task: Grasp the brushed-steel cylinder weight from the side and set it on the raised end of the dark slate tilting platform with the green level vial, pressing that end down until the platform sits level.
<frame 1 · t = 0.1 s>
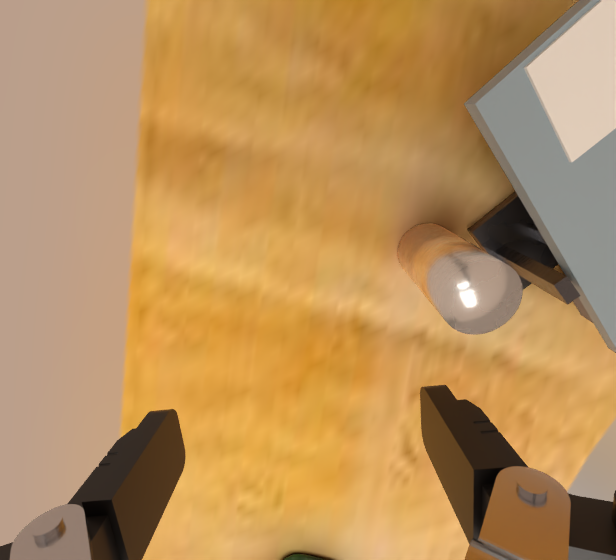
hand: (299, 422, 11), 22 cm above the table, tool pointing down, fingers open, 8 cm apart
pivot stand: (567, 202, 31), on the table
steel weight: (425, 250, 33), on the table
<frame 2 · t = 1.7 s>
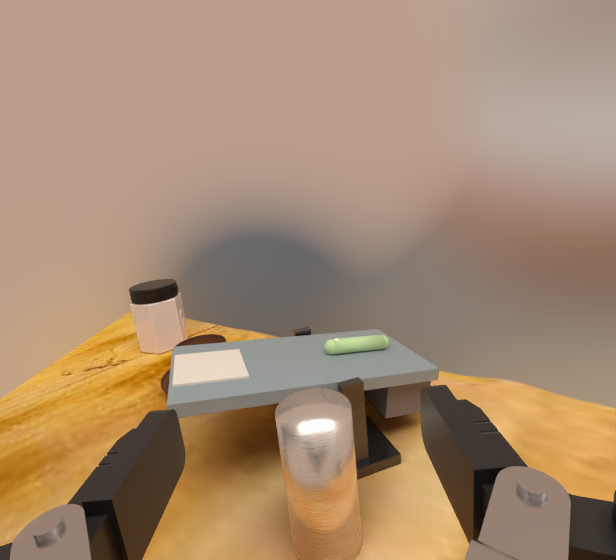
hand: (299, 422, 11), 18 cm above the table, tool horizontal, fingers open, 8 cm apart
platform: (299, 372, 36), point 7 cm above the table, hinge at 8.0°
cup and saucer: (207, 384, 51), on the table
pivot stand: (329, 425, 39), on the table
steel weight: (327, 537, 26), on the table
jar: (165, 345, 67), on the table
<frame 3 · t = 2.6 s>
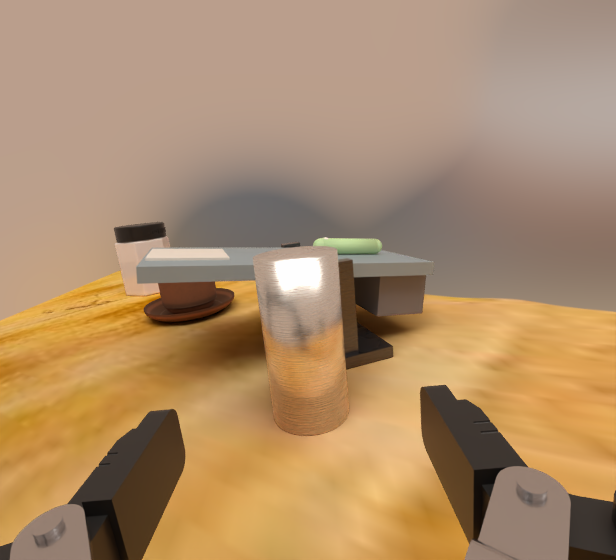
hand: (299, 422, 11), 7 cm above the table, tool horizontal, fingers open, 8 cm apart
platform: (286, 272, 34), point 7 cm above the table, hinge at 8.0°
cup and saucer: (193, 314, 49), on the table
pivot stand: (318, 335, 37), on the table
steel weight: (311, 410, 24), on the table
jar: (153, 290, 65), on the table
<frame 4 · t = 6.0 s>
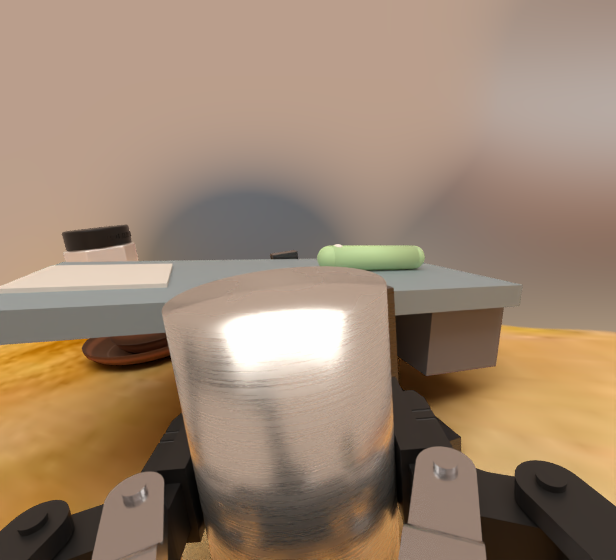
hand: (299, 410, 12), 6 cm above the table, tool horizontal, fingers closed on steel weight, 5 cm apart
platform: (274, 301, 21), point 7 cm above the table, hinge at 8.0°
cup and saucer: (155, 349, 36), on the table
pivot stand: (326, 396, 24), on the table
jar: (115, 310, 52), on the table
when the fingers open (15 cm above the table, at t = 10.7 s): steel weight stays where it is, resting on platform.
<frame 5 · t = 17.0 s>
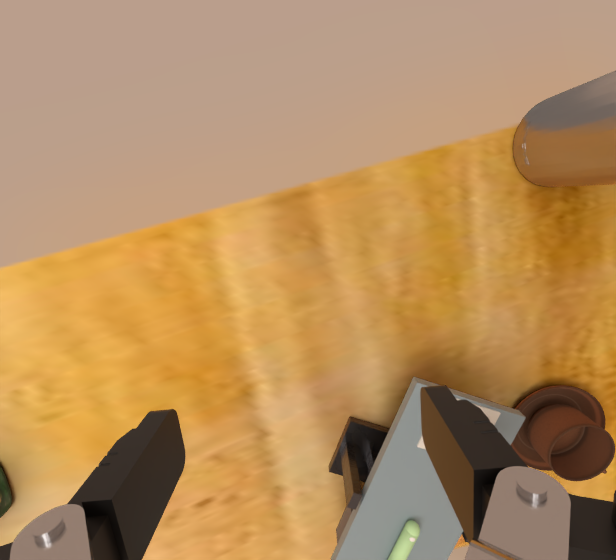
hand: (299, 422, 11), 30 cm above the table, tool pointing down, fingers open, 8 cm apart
platform: (417, 484, 40), point 7 cm above the table, hinge at -0.1°, touching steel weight
cup and saucer: (545, 419, 46), on the table
pivot stand: (395, 458, 47), on the table
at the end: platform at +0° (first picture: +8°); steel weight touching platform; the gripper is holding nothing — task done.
